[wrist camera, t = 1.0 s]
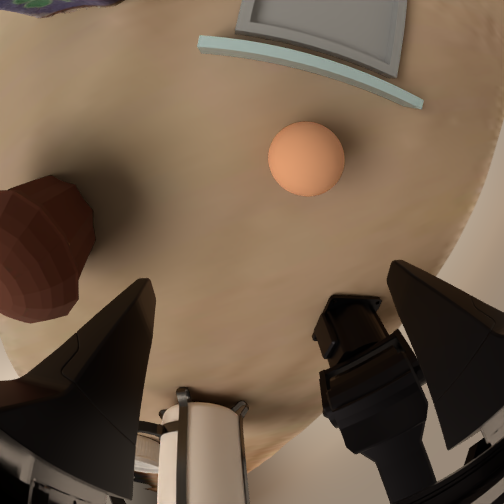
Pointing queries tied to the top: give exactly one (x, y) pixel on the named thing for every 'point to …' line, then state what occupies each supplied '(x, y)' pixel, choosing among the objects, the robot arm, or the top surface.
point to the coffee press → (199, 453)
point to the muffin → (42, 248)
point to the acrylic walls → (307, 66)
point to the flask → (52, 6)
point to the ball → (306, 158)
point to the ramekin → (146, 455)
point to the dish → (332, 28)
